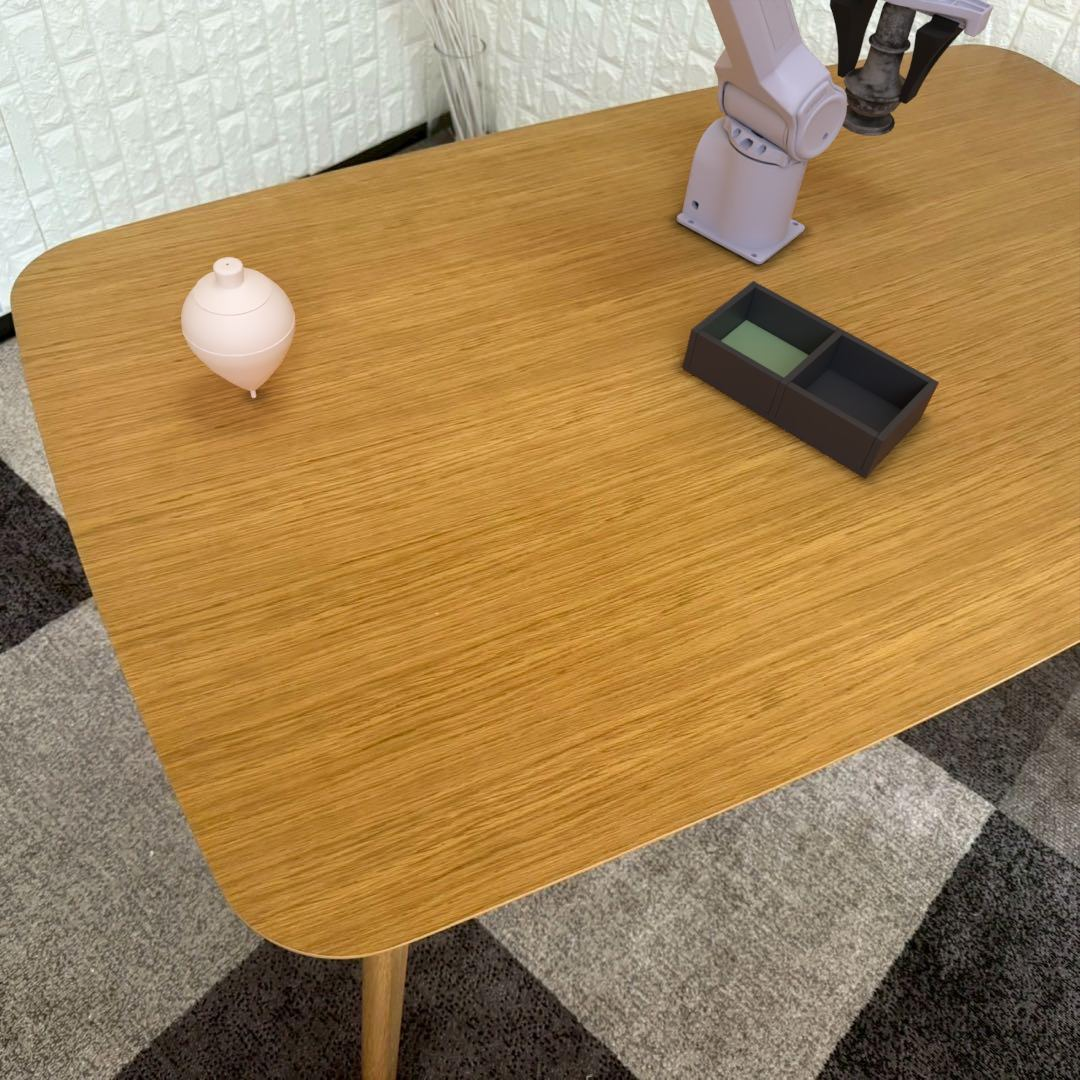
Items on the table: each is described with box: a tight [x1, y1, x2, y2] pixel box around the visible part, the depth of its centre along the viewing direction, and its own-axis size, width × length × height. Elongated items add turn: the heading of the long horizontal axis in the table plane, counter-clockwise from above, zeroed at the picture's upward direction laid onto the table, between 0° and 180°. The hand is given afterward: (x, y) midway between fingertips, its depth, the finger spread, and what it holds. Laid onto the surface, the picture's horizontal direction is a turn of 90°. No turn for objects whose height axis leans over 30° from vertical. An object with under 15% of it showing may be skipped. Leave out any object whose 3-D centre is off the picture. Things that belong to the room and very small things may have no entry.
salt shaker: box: [842, 1, 917, 137], centre depth 90 cm, size 6×6×12 cm
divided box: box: [682, 280, 940, 479], centre depth 79 cm, size 17×9×4 cm, turn 49°
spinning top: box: [180, 256, 296, 399], centre depth 72 cm, size 8×8×12 cm
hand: (876, 85), depth 92 cm, fingers closed on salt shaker, 6 cm apart
